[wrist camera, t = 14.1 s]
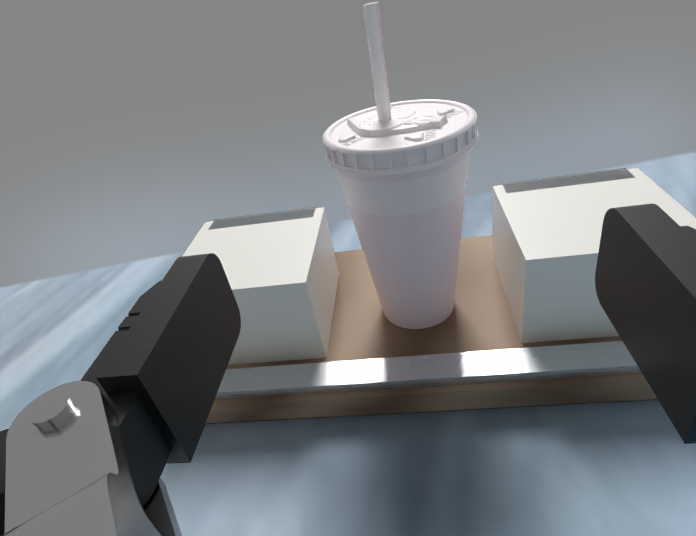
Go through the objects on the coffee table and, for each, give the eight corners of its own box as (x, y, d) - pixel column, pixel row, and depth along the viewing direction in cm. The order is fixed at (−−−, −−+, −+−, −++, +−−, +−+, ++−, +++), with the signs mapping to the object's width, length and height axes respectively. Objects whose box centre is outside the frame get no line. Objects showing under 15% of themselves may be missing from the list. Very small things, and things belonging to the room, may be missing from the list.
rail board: (132, 427, 22) (74, 340, 19) (211, 280, 32) (181, 207, 29) (791, 392, 18) (854, 272, 15) (647, 235, 28) (667, 143, 25)
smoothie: (390, 262, 28) (352, -1, 20) (497, 281, 25) (500, -24, 17) (335, 330, 24) (260, 29, 16) (455, 363, 20) (434, 6, 13)
